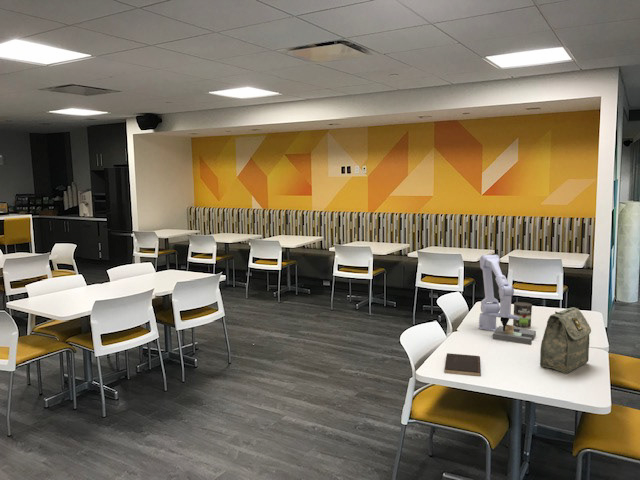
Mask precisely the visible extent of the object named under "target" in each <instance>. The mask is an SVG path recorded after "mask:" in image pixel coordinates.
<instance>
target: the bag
mask: <svg viewBox="0 0 640 480" xmlns="http://www.w3.org/2000/svg"><path fill="white" fill-rule="evenodd" d="M546 322H547V323H546V327H545V329H544V332H543V337H542V339H541V343H540V352H539V353H540V357H539V359H540V360H539V365H540V366H539V367H541V368H548V369H549V368H550V369H553V370H555V371H558V372H562V373H563V374H566V375H567V374H568V373H570V372H572V371H573V370H575V369H577V368H579V367H581V366H583V365H584V364H588V362H589V354H590V353H589V351H590V334H591V332H592V328H591V327H590V324H589V323H588V321H587V319H586V318H585V316H584V314H583V312H582V311H581V310H580V309H579V308H576V307H574V306H573V307H569V308H566V309H565V308H564V309H563V310H560V311H556V310H555V311H554V313H553V314H551V315H550V316H548V319H547V321H546Z"/></svg>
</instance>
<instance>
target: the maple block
mask: <svg viewBox="0 0 640 480" xmlns="http://www.w3.org/2000/svg"><path fill="white" fill-rule="evenodd" d="M514 328H515V327H514V326H513V324H512V325H510V324H507V325H506V326H505V333H507V334H513V333H514Z"/></svg>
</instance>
